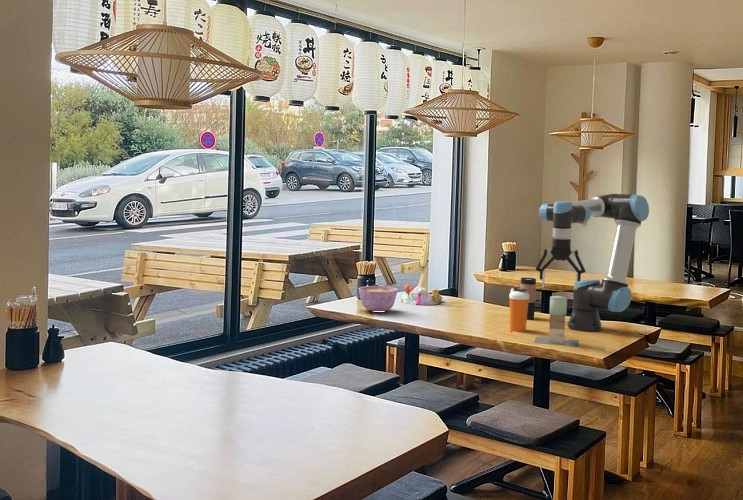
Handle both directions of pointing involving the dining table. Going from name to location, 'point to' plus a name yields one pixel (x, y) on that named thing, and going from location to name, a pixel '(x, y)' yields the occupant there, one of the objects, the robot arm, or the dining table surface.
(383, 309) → the bowl of food
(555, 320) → the block top
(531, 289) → the travel mug
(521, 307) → the shaker bottle
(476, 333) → the dining table surface
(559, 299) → the pale green cube
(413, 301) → the colourful toy figurine cluster
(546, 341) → the slate board
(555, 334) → the block bottom
